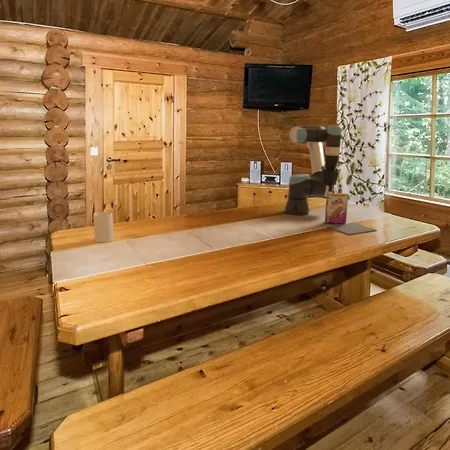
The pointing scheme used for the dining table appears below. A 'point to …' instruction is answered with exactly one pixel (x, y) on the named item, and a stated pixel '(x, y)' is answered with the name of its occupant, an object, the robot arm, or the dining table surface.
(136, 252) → the dining table surface
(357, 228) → the rubber mat
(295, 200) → the robot arm
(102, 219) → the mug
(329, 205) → the candy bar box
